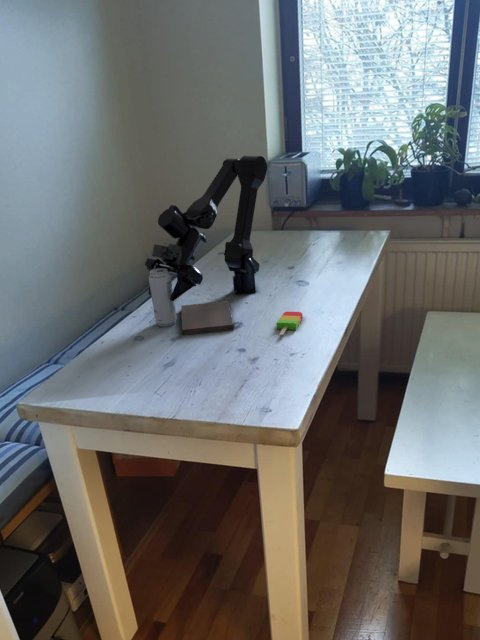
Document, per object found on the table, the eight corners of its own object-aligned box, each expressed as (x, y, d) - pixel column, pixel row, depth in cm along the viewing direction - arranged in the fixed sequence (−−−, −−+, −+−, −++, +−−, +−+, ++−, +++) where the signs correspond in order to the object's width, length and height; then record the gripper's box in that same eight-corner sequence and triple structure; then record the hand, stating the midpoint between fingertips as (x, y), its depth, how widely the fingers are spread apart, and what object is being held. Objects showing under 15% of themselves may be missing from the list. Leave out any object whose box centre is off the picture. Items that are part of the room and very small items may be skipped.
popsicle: (303, 317, 169) (303, 311, 168) (291, 338, 157) (290, 331, 156) (284, 317, 171) (284, 310, 170) (270, 337, 159) (270, 331, 158)
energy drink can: (158, 319, 176) (149, 268, 168) (178, 318, 175) (171, 267, 167) (154, 327, 171) (145, 274, 162) (175, 326, 170) (167, 273, 162)
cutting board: (228, 305, 182) (227, 300, 181) (233, 329, 165) (233, 324, 164) (181, 310, 181) (181, 305, 180) (182, 335, 164) (182, 329, 164)
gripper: (144, 227, 168) (119, 277, 167) (190, 235, 157) (163, 288, 156) (169, 250, 177) (146, 297, 176) (214, 258, 166) (189, 309, 165)
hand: (160, 297), depth 168 cm, fingers open, 9 cm apart
